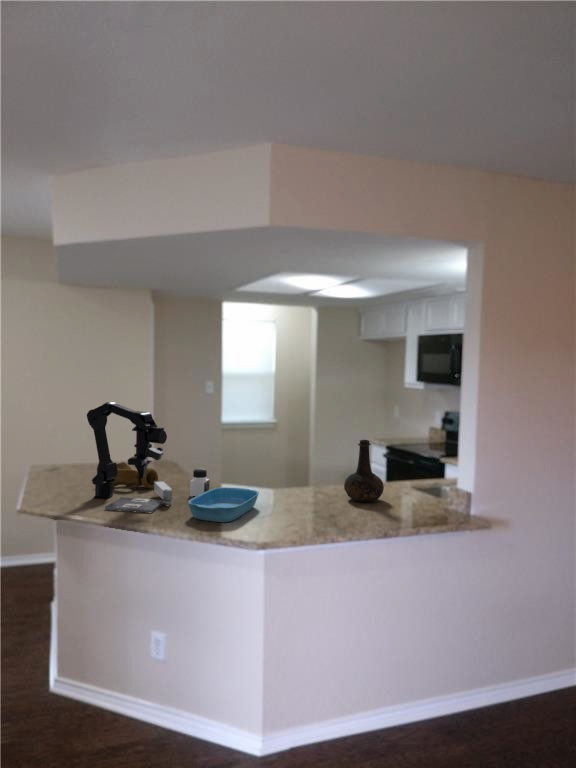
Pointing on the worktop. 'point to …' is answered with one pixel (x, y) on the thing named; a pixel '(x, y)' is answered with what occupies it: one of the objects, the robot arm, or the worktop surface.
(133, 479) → the brown looped sculpture
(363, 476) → the glass bottle
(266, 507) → the worktop surface
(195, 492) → the medicine bottle
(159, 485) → the swing arm
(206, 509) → the casserole dish
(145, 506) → the label board
